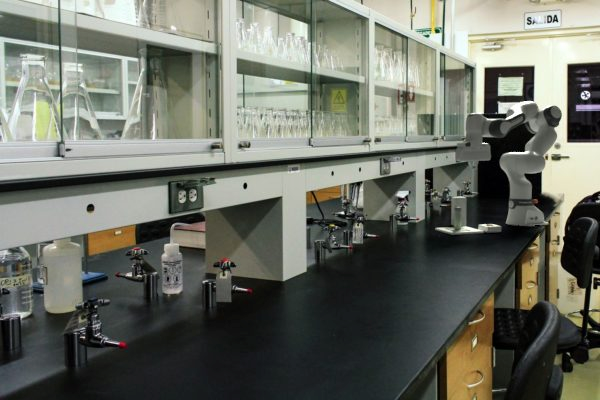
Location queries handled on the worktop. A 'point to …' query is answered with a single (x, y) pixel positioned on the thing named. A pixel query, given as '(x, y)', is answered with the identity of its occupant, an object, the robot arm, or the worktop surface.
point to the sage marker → (457, 218)
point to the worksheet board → (456, 232)
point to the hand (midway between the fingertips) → (473, 169)
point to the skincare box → (461, 203)
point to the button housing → (489, 228)
